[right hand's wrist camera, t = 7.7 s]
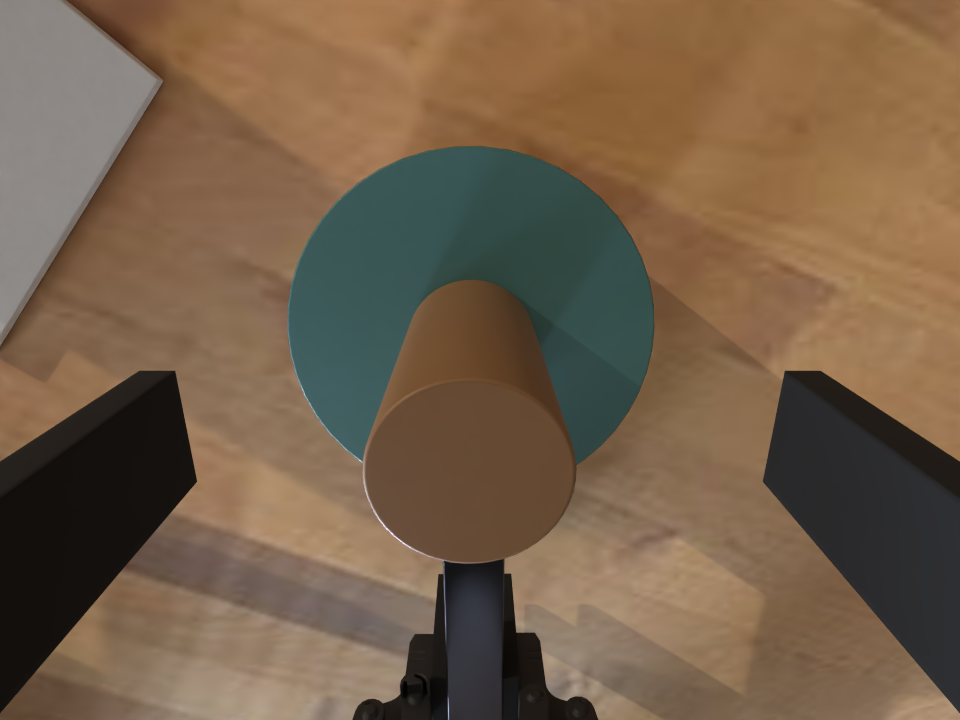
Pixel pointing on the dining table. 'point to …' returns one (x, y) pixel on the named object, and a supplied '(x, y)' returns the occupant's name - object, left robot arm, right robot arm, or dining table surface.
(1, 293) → the grey mat
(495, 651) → the saucepan
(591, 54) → the dining table surface
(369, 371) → the lid
